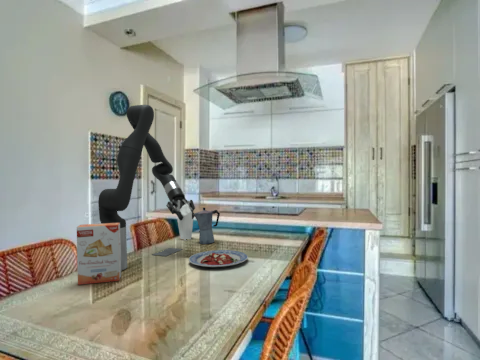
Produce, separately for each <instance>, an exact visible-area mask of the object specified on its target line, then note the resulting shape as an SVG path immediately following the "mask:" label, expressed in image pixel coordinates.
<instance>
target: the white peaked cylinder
mask: <svg viewBox="0 0 480 360" xmlns="http://www.w3.org/2000/svg"><path fill="white" fill-rule="evenodd" d="M179 212H181V214H182V216H183V219H182V220H180V219H179V222H180V230H190V229H192V230H193V227H192V212H191V210H190V208H189V205H188V204H185V205H183V206H182V208H181V209H180V211H179Z"/></svg>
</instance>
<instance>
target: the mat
mask: <svg viewBox="0 0 480 360" xmlns="http://www.w3.org/2000/svg"><path fill="white" fill-rule="evenodd" d="M163 250H164V251H163ZM163 250H161V251H162V252H160V251H158V253H157V252H155V253H152V254H151V255H152V256H156V255H160V256H159V257H168V256H170V255H173V254H175V253H177V251H178V252H180V251H183V248H178V247H177V248H175V247H167V248H166V249H163ZM172 253H173V254H172Z"/></svg>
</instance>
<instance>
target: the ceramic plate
mask: <svg viewBox="0 0 480 360" xmlns="http://www.w3.org/2000/svg"><path fill="white" fill-rule="evenodd" d="M247 259H249V257H248V254H246V253H244V252H241V251H238V250H229V249H217V250H207V251H202V252H198V253H194V254H192V255H190V257H188V262H189V263H190V264H192V265H195V266H199V267H204V268H216V269H217V268H226V267H231V266H235V265H238V264H241V263H243V262H246V261H247Z"/></svg>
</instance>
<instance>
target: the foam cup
mask: <svg viewBox="0 0 480 360" xmlns="http://www.w3.org/2000/svg"><path fill="white" fill-rule="evenodd" d="M177 226H178V232H179V237H180V240H181V239H184V240H183V241H187V240H186V239H190V240H192V234H193V226H194V219H192V229H190V230H180V222H179V218H178V217H177Z"/></svg>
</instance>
